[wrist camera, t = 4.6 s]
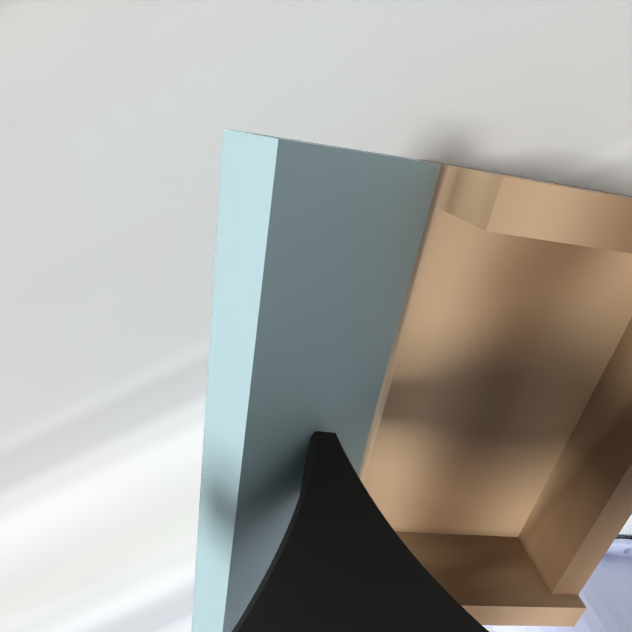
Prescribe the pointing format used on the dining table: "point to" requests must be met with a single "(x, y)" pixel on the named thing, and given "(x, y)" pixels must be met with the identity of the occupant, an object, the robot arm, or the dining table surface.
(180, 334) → the dining table surface
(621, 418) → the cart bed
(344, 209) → the light blue panel
